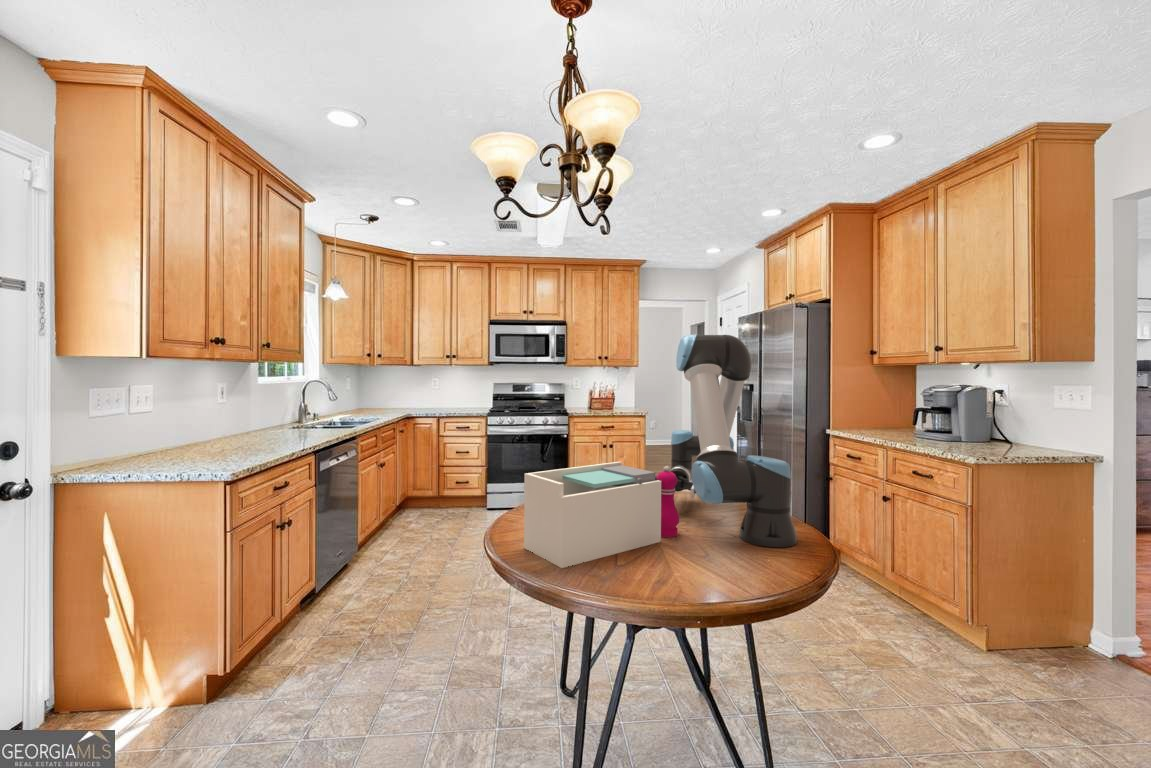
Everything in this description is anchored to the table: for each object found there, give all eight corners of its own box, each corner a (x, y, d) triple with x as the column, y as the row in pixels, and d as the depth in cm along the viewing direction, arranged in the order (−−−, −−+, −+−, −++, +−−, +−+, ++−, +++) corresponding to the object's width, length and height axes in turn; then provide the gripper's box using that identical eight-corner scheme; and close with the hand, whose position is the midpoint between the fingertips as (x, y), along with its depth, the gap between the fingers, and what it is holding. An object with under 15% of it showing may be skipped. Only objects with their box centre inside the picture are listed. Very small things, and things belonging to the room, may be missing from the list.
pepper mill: (664, 539, 144) (664, 469, 143) (649, 532, 150) (649, 465, 150) (684, 535, 147) (684, 466, 147) (669, 529, 154) (668, 463, 153)
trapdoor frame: (662, 542, 141) (662, 470, 141) (563, 569, 121) (564, 485, 121) (617, 526, 156) (617, 461, 156) (522, 547, 136) (523, 473, 136)
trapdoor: (655, 487, 143) (655, 472, 143) (594, 498, 130) (594, 481, 129) (621, 479, 154) (621, 465, 154) (562, 488, 141) (562, 472, 141)
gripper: (715, 492, 172) (711, 507, 152) (642, 486, 180) (629, 500, 159) (715, 470, 172) (711, 482, 151) (642, 465, 180) (629, 476, 159)
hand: (669, 491), depth 155 cm, fingers open, 13 cm apart
